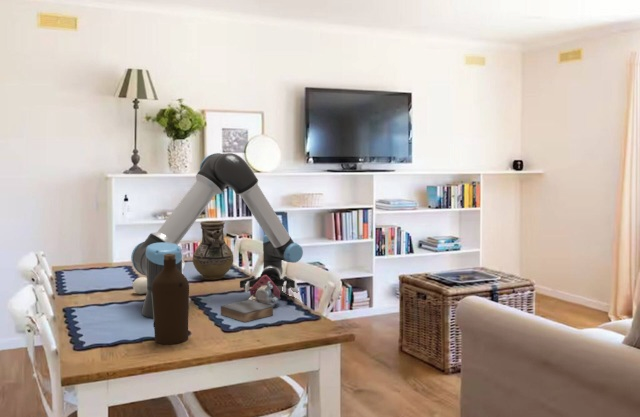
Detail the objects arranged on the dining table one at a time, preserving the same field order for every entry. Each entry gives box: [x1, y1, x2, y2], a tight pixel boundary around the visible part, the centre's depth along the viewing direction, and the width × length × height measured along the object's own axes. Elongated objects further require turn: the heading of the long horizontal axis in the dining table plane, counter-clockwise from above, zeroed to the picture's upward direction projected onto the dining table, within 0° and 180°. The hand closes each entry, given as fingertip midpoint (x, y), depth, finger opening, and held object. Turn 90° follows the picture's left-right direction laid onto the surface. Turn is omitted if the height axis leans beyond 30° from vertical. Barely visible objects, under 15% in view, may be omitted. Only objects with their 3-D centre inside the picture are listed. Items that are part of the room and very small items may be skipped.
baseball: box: [132, 276, 147, 295], centre depth 227 cm, size 7×7×7 cm
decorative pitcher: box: [192, 220, 234, 281], centre depth 257 cm, size 22×18×25 cm
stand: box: [220, 299, 274, 323], centre depth 196 cm, size 12×13×3 cm
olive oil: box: [151, 254, 190, 345], centre depth 168 cm, size 11×11×25 cm
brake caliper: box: [247, 275, 281, 308], centre depth 207 cm, size 11×11×12 cm
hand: (265, 288), depth 206 cm, fingers open, 13 cm apart
